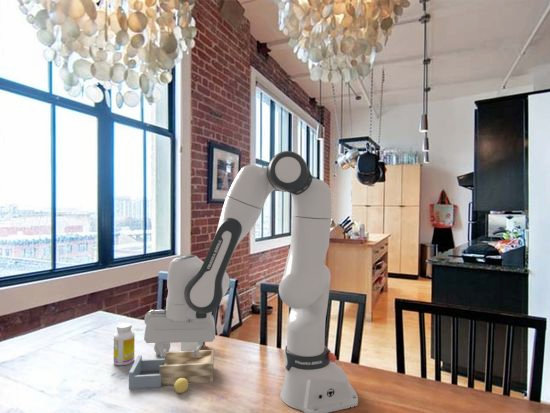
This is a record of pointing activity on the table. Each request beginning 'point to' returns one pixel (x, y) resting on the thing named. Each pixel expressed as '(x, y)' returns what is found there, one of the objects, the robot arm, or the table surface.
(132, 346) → the supplement bottle
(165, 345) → the salt shaker
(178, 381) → the ball
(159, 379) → the light blue open bin
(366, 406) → the table surface
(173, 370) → the tan wooden tray
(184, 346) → the medicine bottle
